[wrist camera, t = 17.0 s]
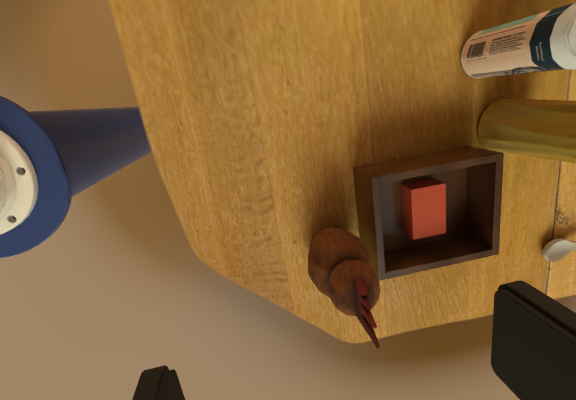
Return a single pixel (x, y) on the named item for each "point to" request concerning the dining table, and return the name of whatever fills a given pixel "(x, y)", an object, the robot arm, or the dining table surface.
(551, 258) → the spoon
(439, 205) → the red rectangular prism
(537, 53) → the beer can
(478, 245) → the holder
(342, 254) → the wooden figurine
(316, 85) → the dining table surface
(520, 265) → the dining table surface
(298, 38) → the dining table surface
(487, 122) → the vase
